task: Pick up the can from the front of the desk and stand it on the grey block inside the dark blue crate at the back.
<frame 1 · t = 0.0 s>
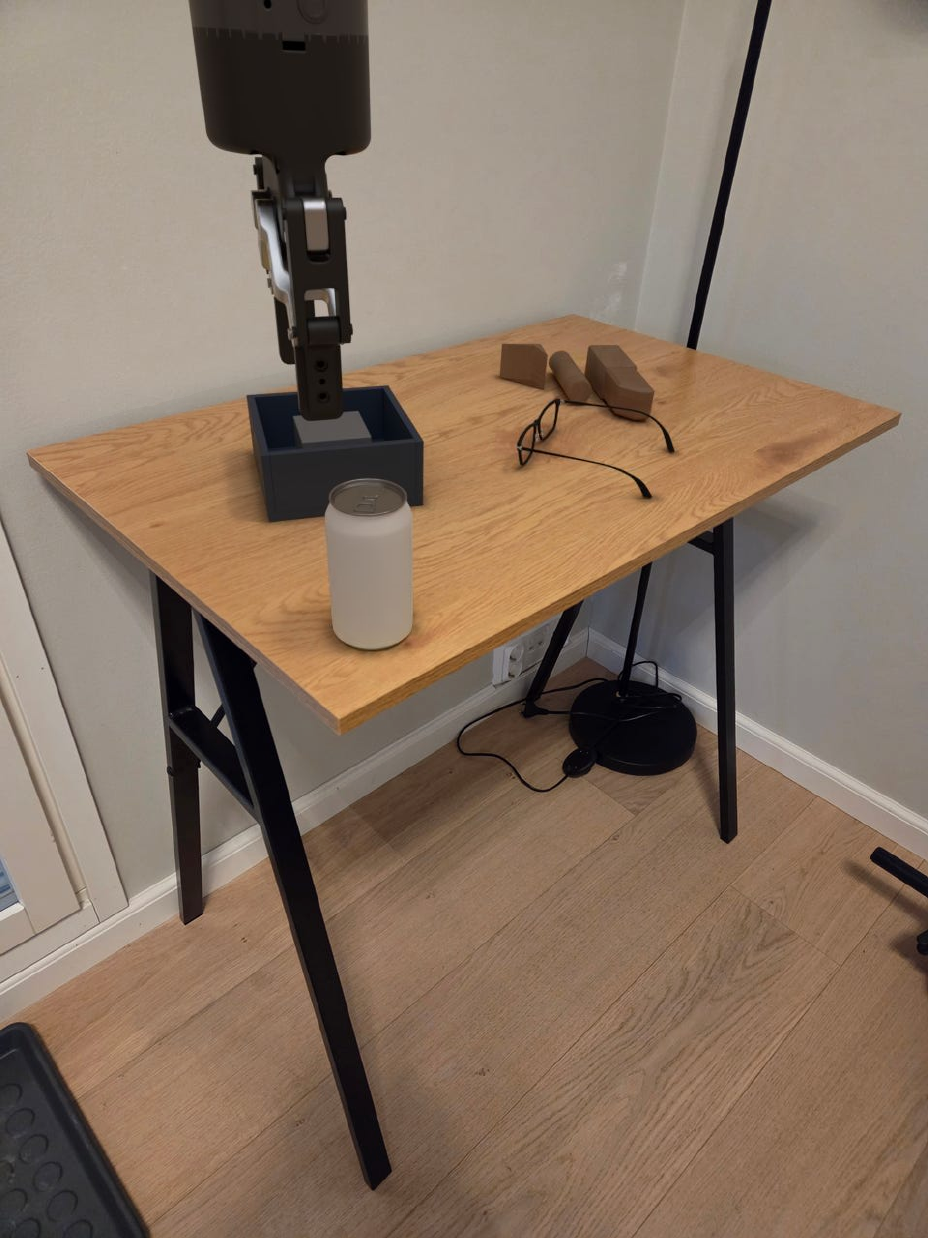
hand: (309, 387, 44), 23 cm above the table, tool pointing down, fingers open, 8 cm apart
can: (373, 629, 64), on the table
wooden block set: (570, 399, 107), on the table
grey block: (334, 470, 84), resting on crate
crate: (334, 478, 85), on the table
eyeglasses: (595, 462, 91), on the table
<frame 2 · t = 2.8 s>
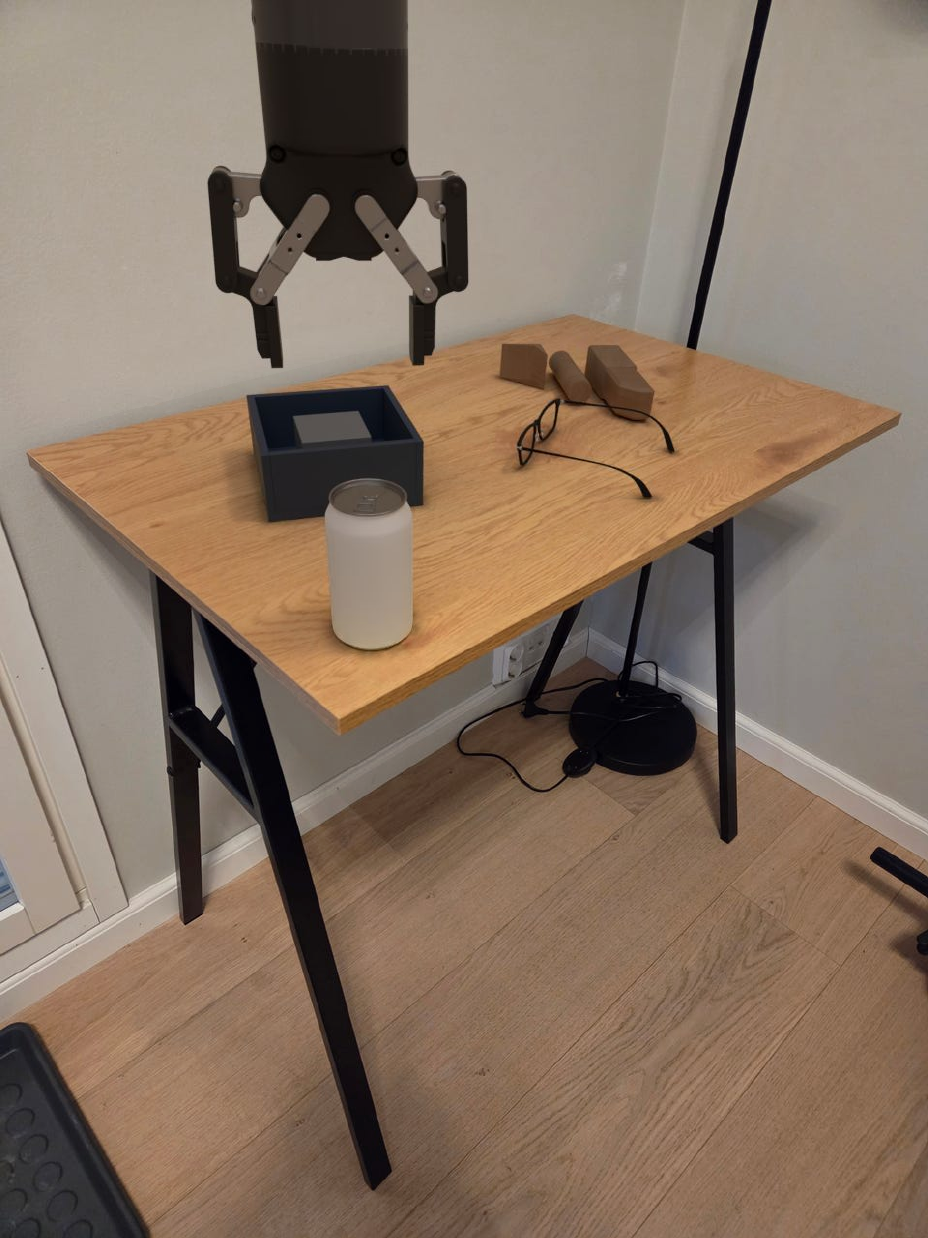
hand: (348, 362, 49), 22 cm above the table, tool pointing down, fingers open, 8 cm apart
nothing on the table moved.
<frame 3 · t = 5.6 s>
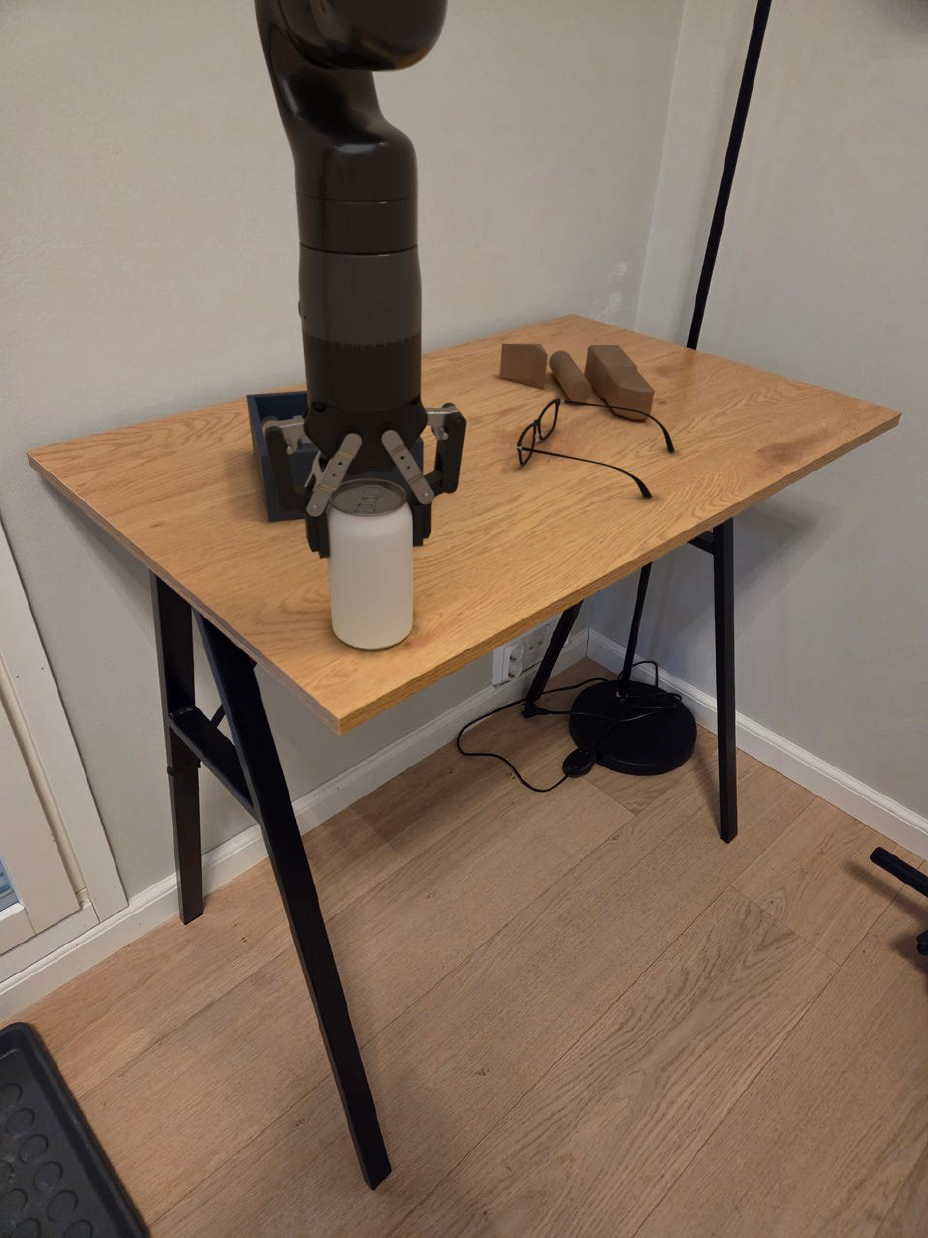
hand: (370, 546, 59), 8 cm above the table, tool pointing down, fingers closed on can, 6 cm apart
can: (372, 629, 64), on the table, touching gripper
everything else where it was.
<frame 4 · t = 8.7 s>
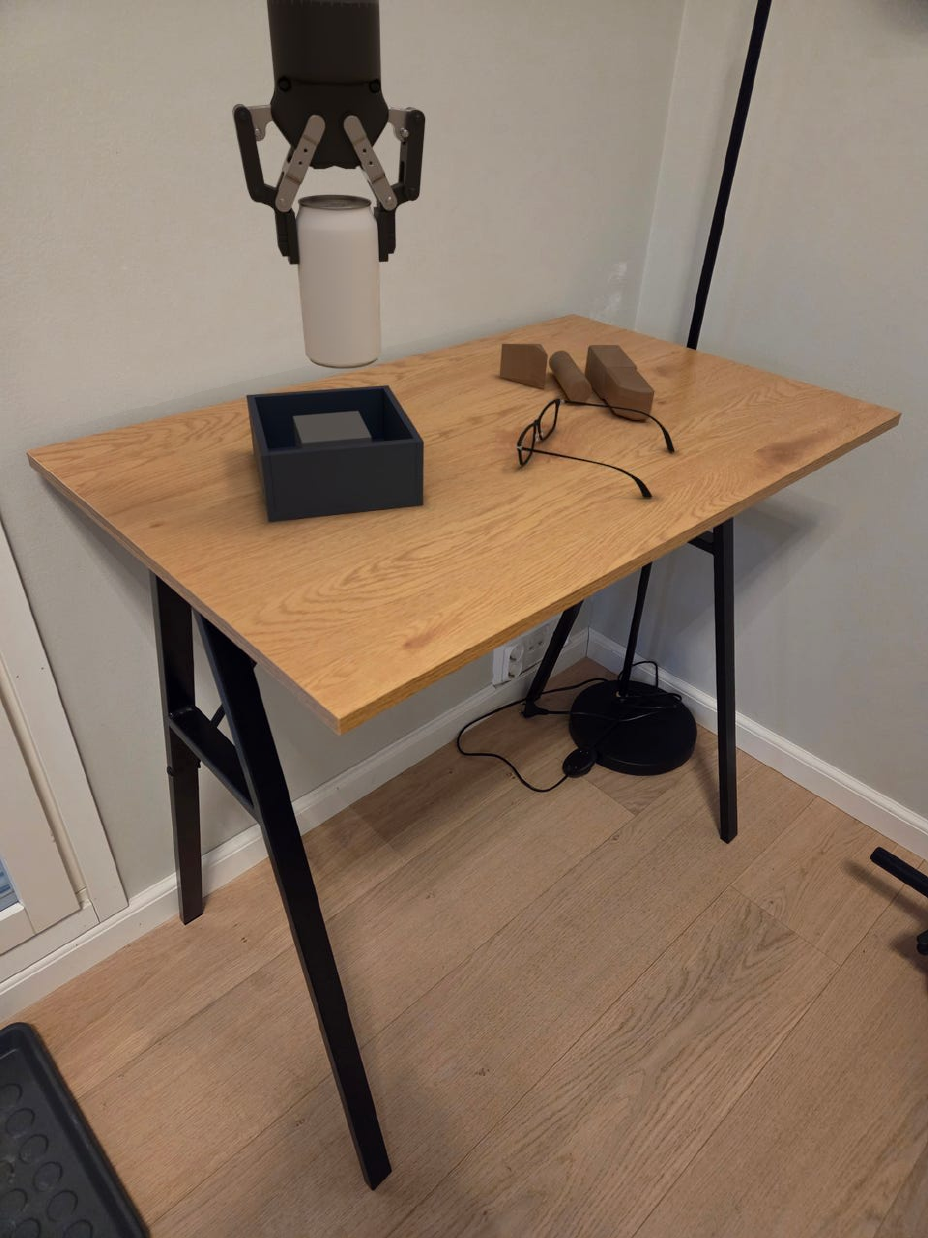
hand: (338, 260, 63), 24 cm above the table, tool pointing down, fingers closed on can, 6 cm apart
can: (344, 359, 68), point 16 cm above the table, touching gripper
everything else where it was.
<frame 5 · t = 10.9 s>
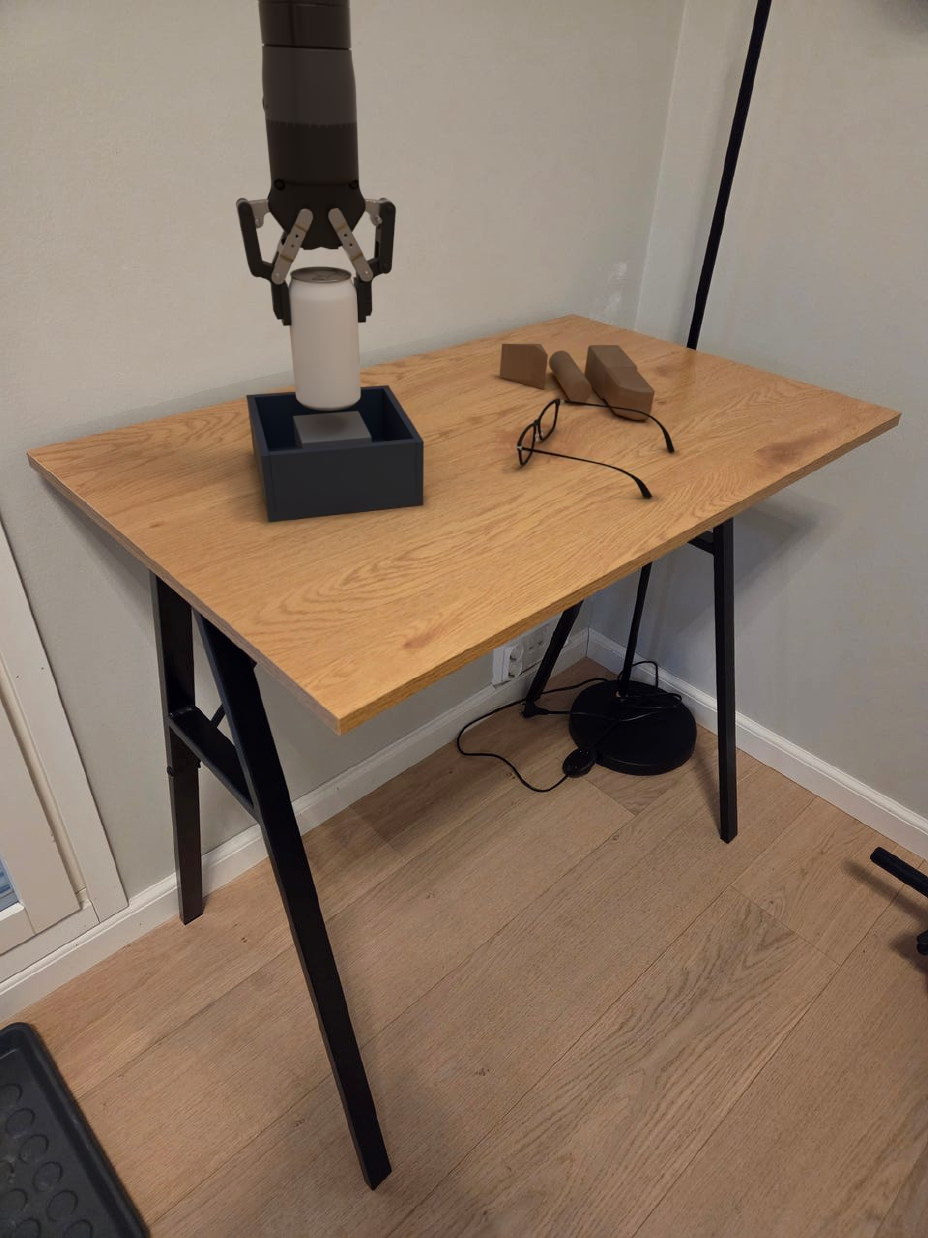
hand: (324, 321, 75), 17 cm above the table, tool pointing down, fingers closed on can, 6 cm apart
can: (328, 401, 80), point 9 cm above the table, touching gripper
everything else where it was.
when the fingers open (14 cm above the table, at t = 12.3 s): can stays where it is, resting on grey block.
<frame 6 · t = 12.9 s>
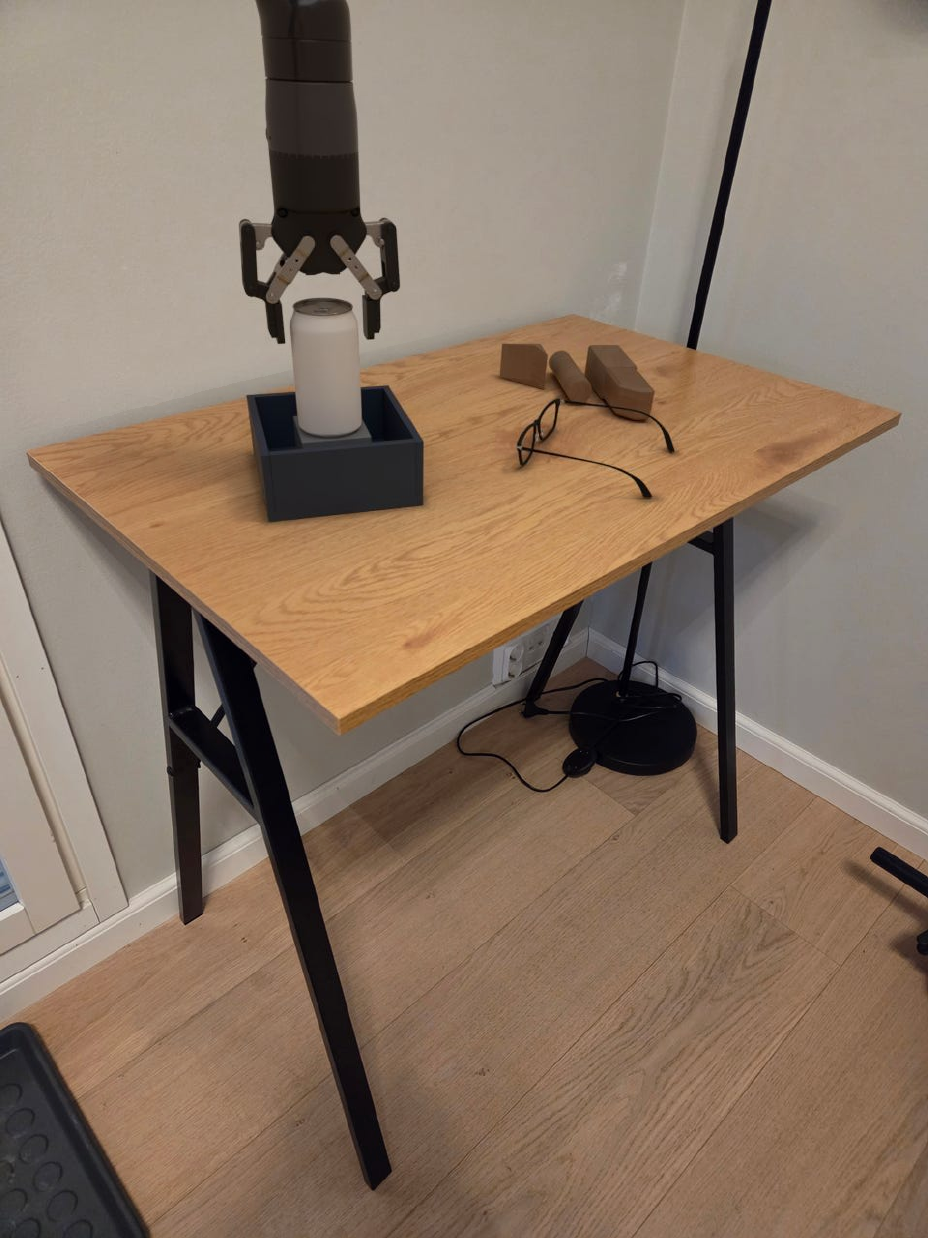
hand: (325, 339, 76), 15 cm above the table, tool pointing down, fingers open, 8 cm apart
can: (330, 428, 81), point 6 cm above the table, touching grey block
everything else where it was.
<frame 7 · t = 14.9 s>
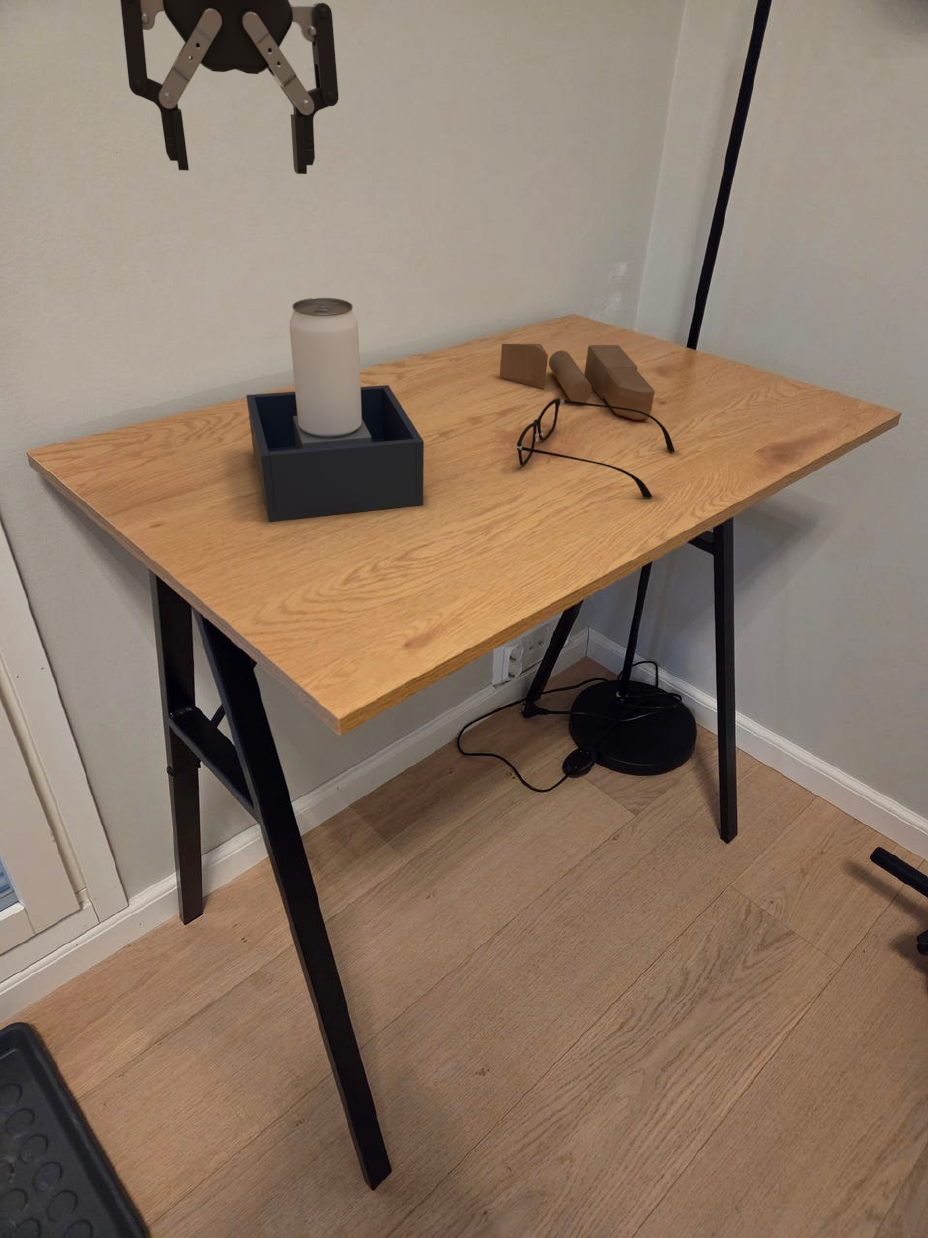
hand: (243, 170, 59), 30 cm above the table, tool pointing down, fingers open, 8 cm apart
nothing on the table moved.
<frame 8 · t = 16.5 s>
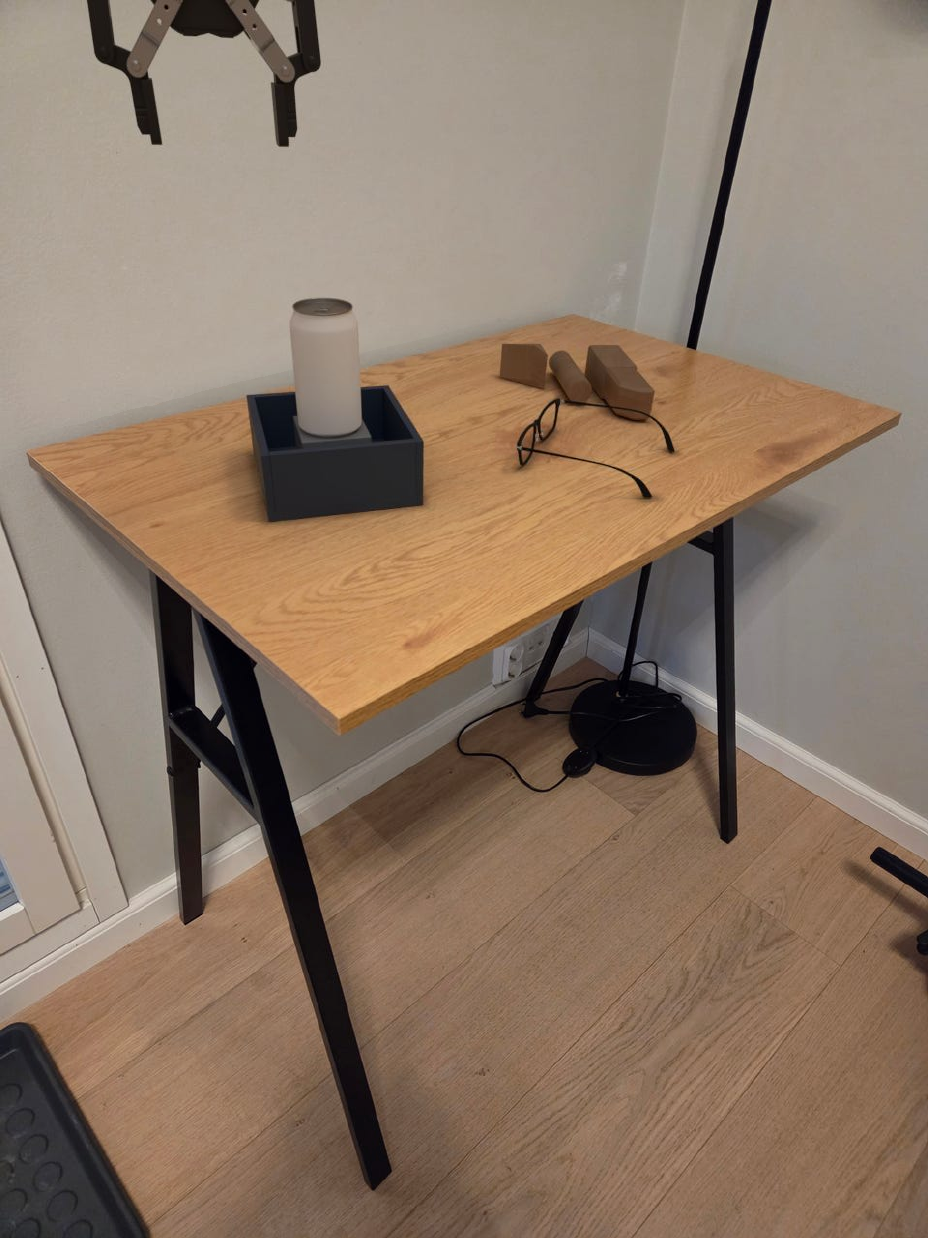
hand: (221, 144, 55), 32 cm above the table, tool pointing down, fingers open, 8 cm apart
nothing on the table moved.
at the end: can 0.1 cm off-centre on the grey block, point 4.8 cm above the grey block's base; can tilted 0°; the gripper is holding nothing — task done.
